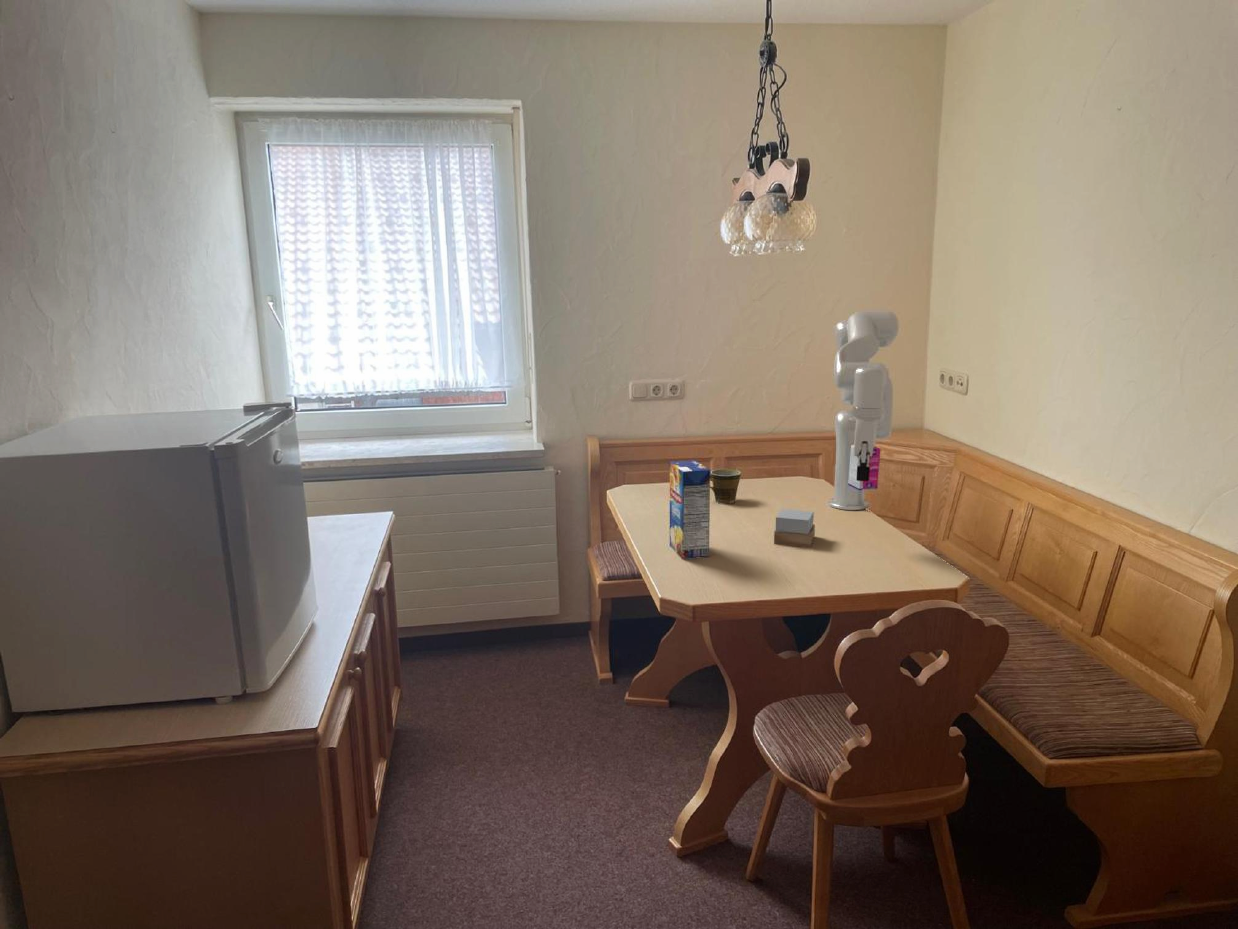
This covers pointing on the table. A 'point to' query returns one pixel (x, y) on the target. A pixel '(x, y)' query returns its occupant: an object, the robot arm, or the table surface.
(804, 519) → the tower top slab
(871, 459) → the supplement box
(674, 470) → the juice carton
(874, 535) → the table surface
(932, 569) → the table surface
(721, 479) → the ceramic cup
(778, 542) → the tower base slab
